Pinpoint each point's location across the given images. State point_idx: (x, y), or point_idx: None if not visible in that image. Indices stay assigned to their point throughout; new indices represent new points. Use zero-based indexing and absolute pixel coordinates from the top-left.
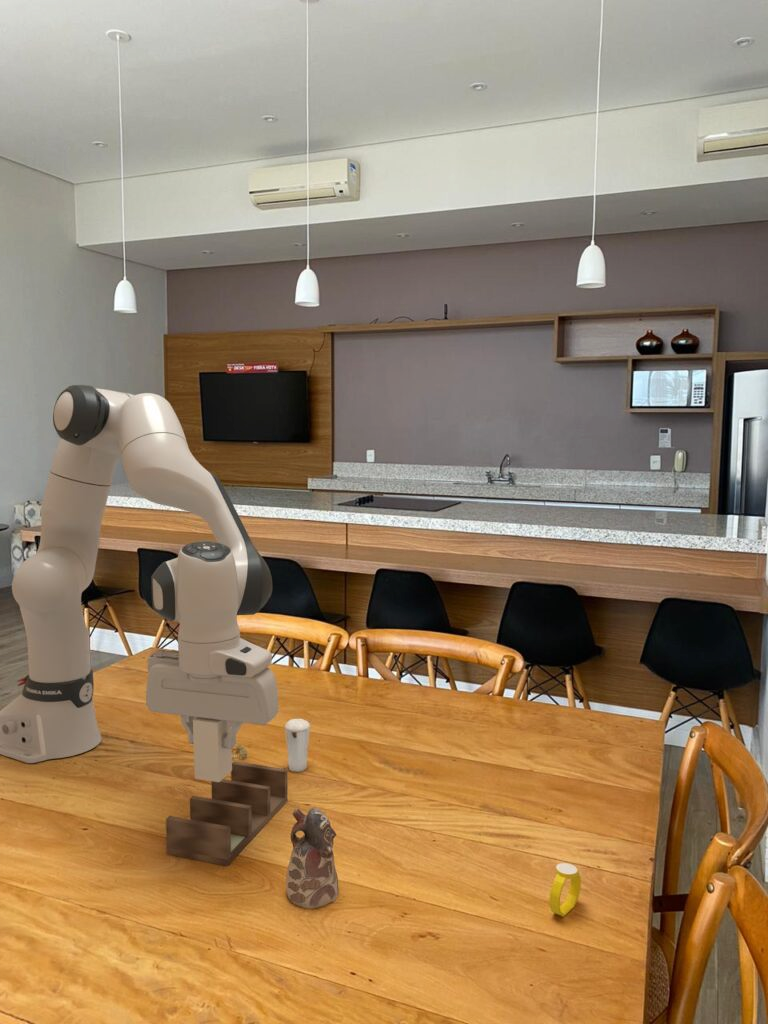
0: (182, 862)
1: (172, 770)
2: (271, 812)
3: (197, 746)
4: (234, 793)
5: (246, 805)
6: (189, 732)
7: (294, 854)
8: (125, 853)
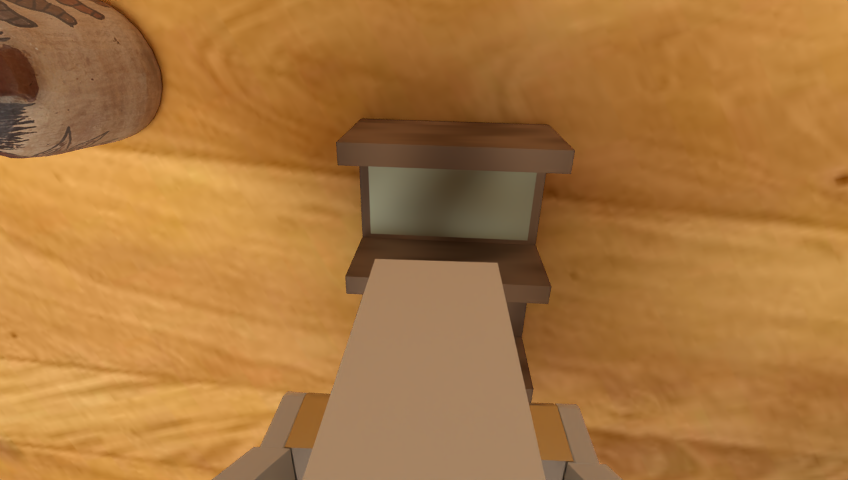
0: (487, 100)
1: (694, 460)
2: None
3: (493, 370)
4: None
5: (360, 291)
6: (591, 468)
7: (3, 26)
8: (671, 94)
